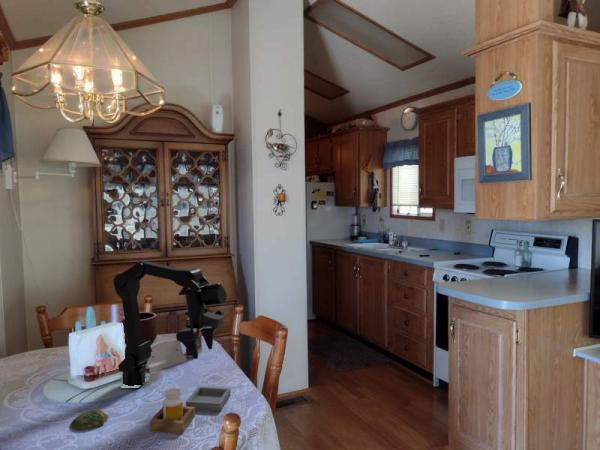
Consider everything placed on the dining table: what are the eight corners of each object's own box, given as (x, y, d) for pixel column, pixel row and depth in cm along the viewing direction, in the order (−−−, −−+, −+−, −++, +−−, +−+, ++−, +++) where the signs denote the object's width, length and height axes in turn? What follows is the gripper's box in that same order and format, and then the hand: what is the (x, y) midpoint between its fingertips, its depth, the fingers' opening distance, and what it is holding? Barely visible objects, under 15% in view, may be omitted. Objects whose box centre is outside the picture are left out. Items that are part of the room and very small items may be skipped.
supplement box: (197, 357, 174) (197, 319, 173) (185, 357, 174) (185, 319, 173) (202, 350, 183) (202, 314, 182) (191, 350, 183) (190, 313, 182)
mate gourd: (144, 348, 184) (144, 303, 183) (164, 355, 176) (164, 308, 175) (111, 359, 172) (110, 310, 171) (131, 367, 164) (130, 316, 162)
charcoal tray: (185, 409, 131) (185, 401, 131) (198, 393, 142) (198, 386, 142) (220, 411, 130) (220, 403, 129) (230, 395, 141) (230, 388, 140)
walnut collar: (150, 431, 118) (150, 420, 118) (164, 414, 128) (164, 404, 127) (182, 433, 117) (182, 423, 117) (194, 416, 127) (194, 406, 126)
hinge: (149, 372, 159) (144, 346, 160) (143, 373, 162) (138, 347, 163) (187, 360, 171) (182, 335, 173) (181, 361, 174) (176, 337, 176)
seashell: (95, 398, 130) (115, 406, 124) (96, 410, 130) (116, 419, 125) (62, 414, 121) (82, 424, 116) (63, 427, 122) (84, 438, 116)
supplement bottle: (186, 423, 123) (186, 390, 122) (169, 431, 119) (169, 397, 118) (176, 417, 126) (176, 385, 126) (159, 424, 122) (159, 391, 122)
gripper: (203, 311, 128) (211, 362, 128) (230, 298, 146) (237, 343, 146) (171, 314, 131) (179, 364, 131) (202, 301, 149) (209, 345, 149)
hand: (203, 353), depth 139 cm, fingers open, 9 cm apart
